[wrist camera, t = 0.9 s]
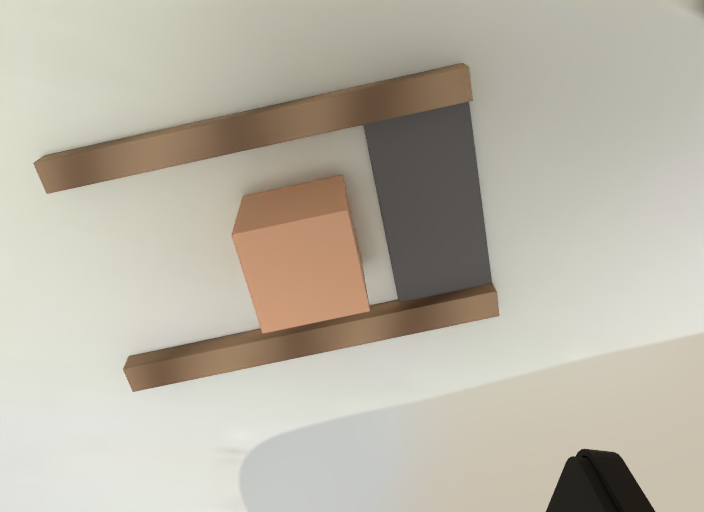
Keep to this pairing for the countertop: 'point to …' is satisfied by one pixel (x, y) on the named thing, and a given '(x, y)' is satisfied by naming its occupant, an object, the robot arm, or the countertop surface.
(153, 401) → the countertop surface
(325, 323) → the channel
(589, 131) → the countertop surface
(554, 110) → the countertop surface
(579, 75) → the countertop surface
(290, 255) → the block
